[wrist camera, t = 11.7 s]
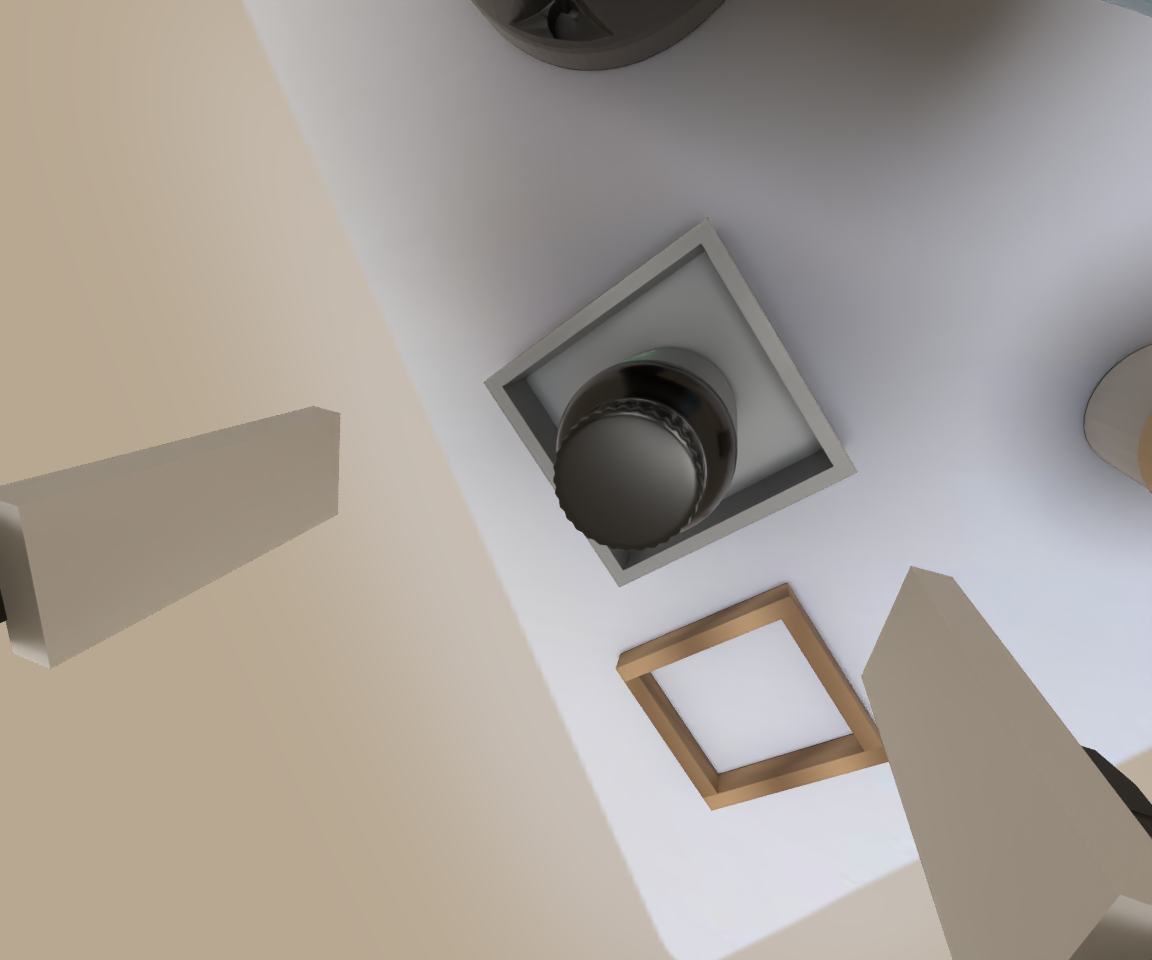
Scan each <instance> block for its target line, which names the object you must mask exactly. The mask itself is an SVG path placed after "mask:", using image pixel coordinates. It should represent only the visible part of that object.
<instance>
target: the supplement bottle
mask: <svg viewBox="0 0 1152 960" xmlns="http://www.w3.org/2000/svg"><path fill="white" fill-rule="evenodd" d="M737 452H738V433H737V407H736V401H735V396H734V393H733V390H732V388H731V386H730V384H729V382H728V380H727V379H726V377H725V376H724V374H723V373H722V372H721V371H720V370H719V368H718V367H717V366H716V365H714V364H713V363H712V362H711V361H710V360H708V359H707V358H705V357H703V356H702V355H700V354H698V353H696V352H693V351H690V350H687V349H683V348H676V347H660V348H654V349H650V350H647V351H644V352H641V353H639V354H636V355H634V356H632V357H630V358H628V359H626V360H623V361H621V362H619V363H617V364H615V365H613V366H611V367H609V368H607V369H605V370H603V371H601V372H600V373H598V374H597V375H595V376H594V377H592V378H591V379H590V380H589V381H587V382H586V383H585V384H584V385H583V386H582V387H581V388H580V389H579V390H578V391H577V392H576V393H575V395H574V396H573V397H572V399H571V400H570V402H569V403H568V405H567V407H566V409H565V411H564V413H563V416H562V418H561V421H560V424H559V428H558V433H557V442H556V462H555V463H554V465H553V469H554V472H555V475H554V477H553V482H554V484H555V486H556V489H555V494H556V496H557V497H558V498H559V504H560V507H561V508H562V509H563V510H564V511H565V514H566V517H567V519H568V520H569V521H571V522H572V523H573V524H574V526H575V528H576V529H577V530H579V531H581V532H583V534H584V535H585V536H586V537H587V538H589V539H593V540H595V541H596V542H597V543H598V544H599V545H607V546H608V547H609V548H611V549H621V550H624V551H631V550H637V551H642V550H644V549H645V548H655V547H656V546H658V544H661V543H666V542H668V541H669V540H670V539H671V537H673V536H676V535H678V534H680V532H683V531H685V530H687V529H689V528H691V527H693V526H695V525H696V524H698V523H699V522H701V521H702V520H703V519H705V518H706V517H707V516H708V515H709V514H710V513H712V512H713V511H714V509H715V508H716V507H717V506H718V505H719V504H720V502H721V501H722V499H723V498H724V496H725V494H726V493H727V491H728V489H729V487H730V484H731V482H732V479H733V475H734V472H735V468H736V462H737Z"/></svg>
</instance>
